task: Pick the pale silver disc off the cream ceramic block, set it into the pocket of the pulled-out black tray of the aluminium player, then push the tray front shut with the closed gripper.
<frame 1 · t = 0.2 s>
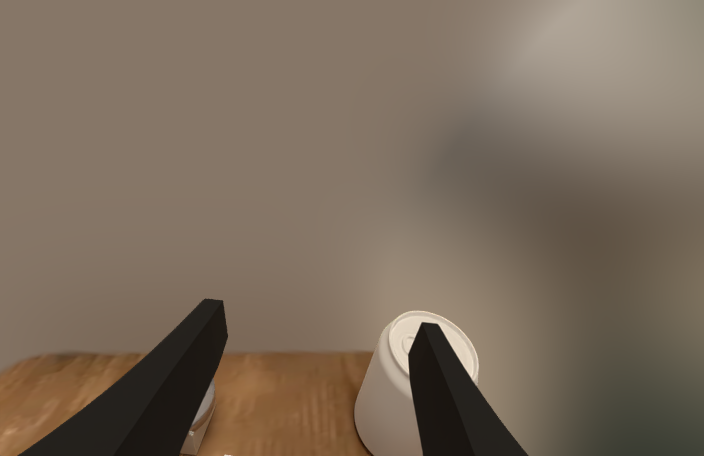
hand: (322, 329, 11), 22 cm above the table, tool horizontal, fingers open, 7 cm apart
riser block: (183, 425, 26), on the table
beverage can: (392, 421, 30), on the table
disc: (178, 405, 24), point 3 cm above the table, touching riser block
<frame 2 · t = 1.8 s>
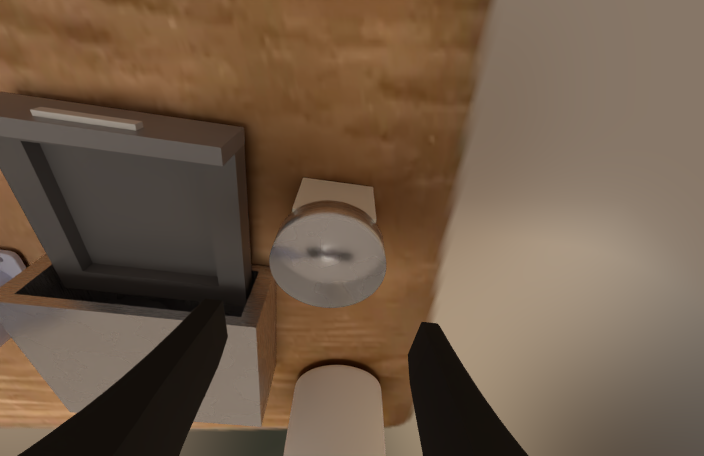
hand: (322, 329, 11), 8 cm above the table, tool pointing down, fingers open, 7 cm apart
player: (185, 314, 23), on the table
riser block: (334, 212, 18), on the table
beverage can: (338, 381, 29), on the table
tray: (134, 222, 16), point 2 cm above the table, slide at 9.0 cm
disc: (330, 247, 15), point 3 cm above the table, touching riser block
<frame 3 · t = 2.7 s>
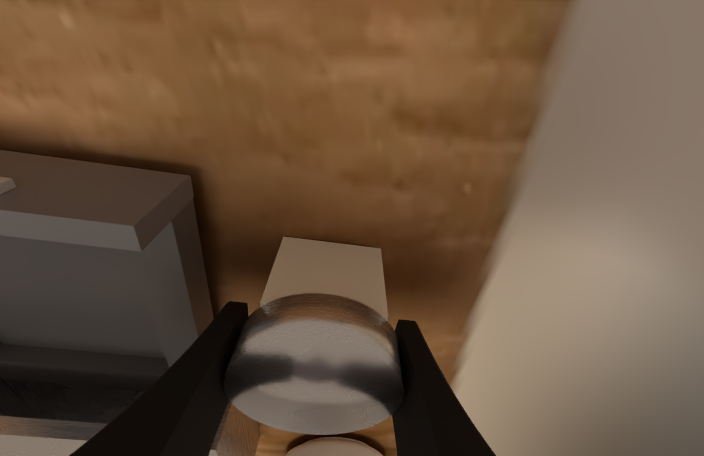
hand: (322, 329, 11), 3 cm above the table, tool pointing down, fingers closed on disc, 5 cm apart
player: (143, 387, 19), on the table
riser block: (327, 278, 13), on the table
beverage can: (335, 450, 24), on the table
tray: (40, 305, 11), point 2 cm above the table, slide at 9.0 cm
disc: (319, 348, 10), point 3 cm above the table, touching gripper, riser block
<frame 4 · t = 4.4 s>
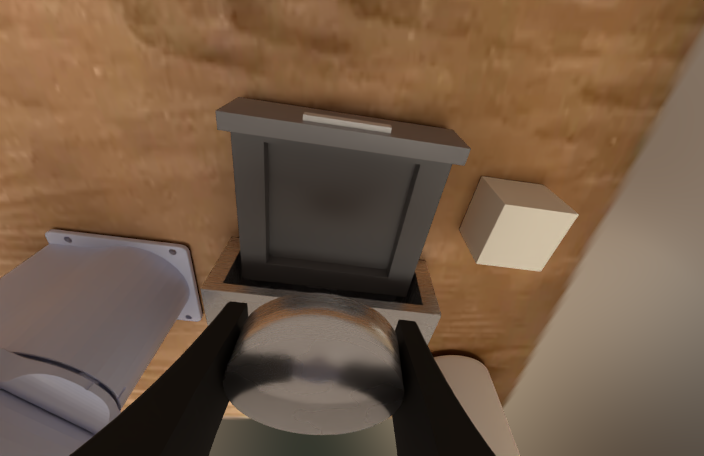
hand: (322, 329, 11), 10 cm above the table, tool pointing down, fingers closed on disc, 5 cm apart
player: (323, 305, 25), on the table
riser block: (499, 208, 19), on the table
beverage can: (444, 371, 30), on the table
tray: (335, 217, 17), point 2 cm above the table, slide at 9.0 cm
disc: (319, 348, 10), point 11 cm above the table, touching gripper
when the fingers open (3 cm above the table, at t = 6.0 s): disc drops 2 cm, resting on tray.
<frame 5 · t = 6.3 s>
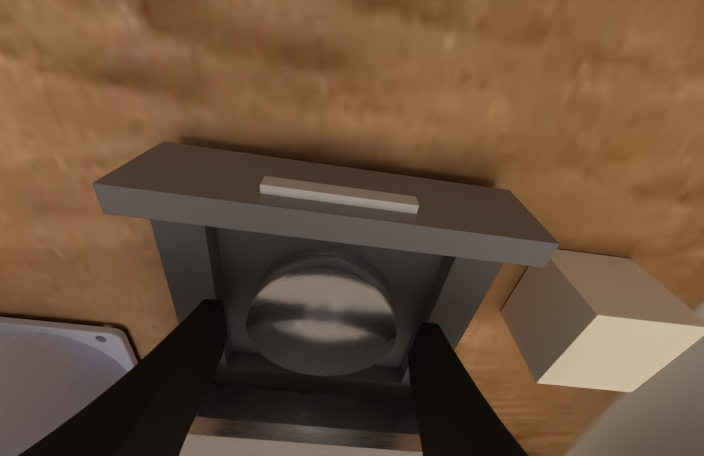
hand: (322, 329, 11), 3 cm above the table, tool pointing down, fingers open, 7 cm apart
player: (312, 392, 19), on the table
riser block: (560, 287, 14), on the table
tray: (323, 315, 11), point 2 cm above the table, slide at 9.0 cm, touching disc
disc: (325, 301, 12), point 1 cm above the table, touching tray
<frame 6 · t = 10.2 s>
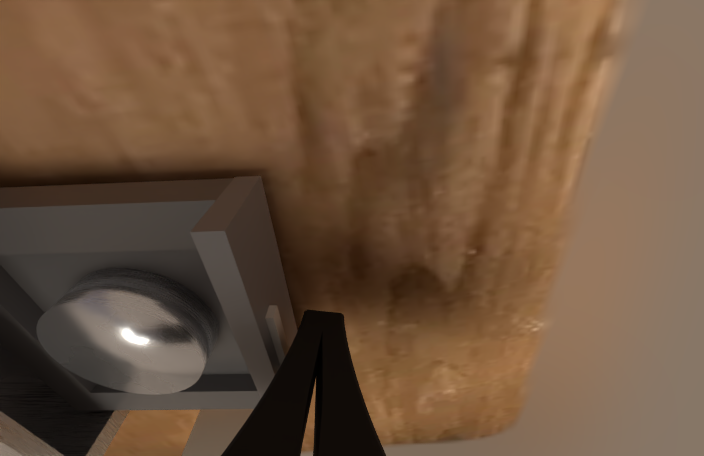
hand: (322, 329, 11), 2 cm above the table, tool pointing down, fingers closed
riser block: (248, 409, 19), on the table
tray: (139, 336, 11), point 2 cm above the table, slide at 9.0 cm, touching disc, gripper
disc: (149, 318, 12), point 1 cm above the table, touching tray
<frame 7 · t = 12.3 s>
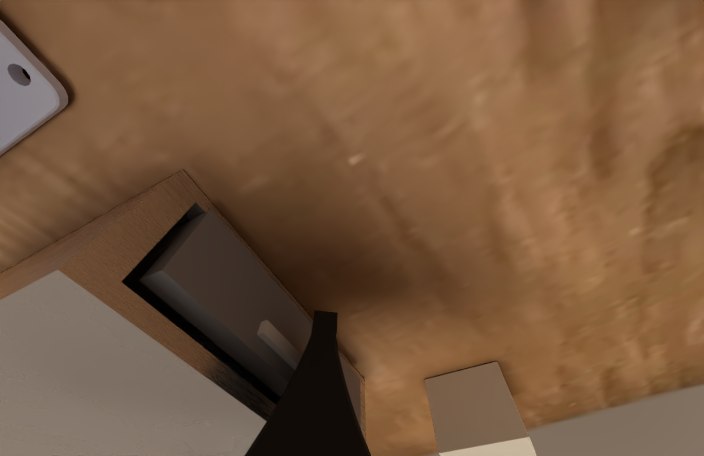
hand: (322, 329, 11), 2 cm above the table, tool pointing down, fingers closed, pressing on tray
player: (195, 338, 15), on the table
riser block: (469, 388, 17), on the table
tray: (187, 378, 13), point 2 cm above the table, slide at -0.2 cm, touching disc, gripper
disc: (196, 360, 13), point 1 cm above the table, touching tray
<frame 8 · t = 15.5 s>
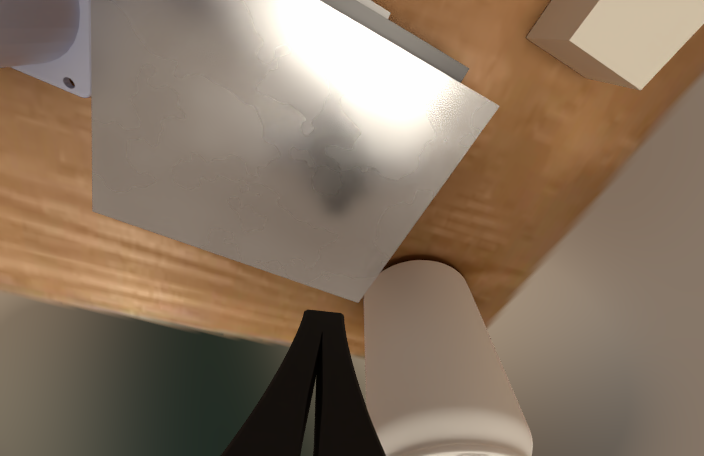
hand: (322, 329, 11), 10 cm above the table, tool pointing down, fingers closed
player: (293, 130, 17), on the table
riser block: (591, 13, 14), on the table
beverage can: (413, 291, 24), on the table
tray: (293, 123, 14), point 2 cm above the table, slide at 0.0 cm, touching disc
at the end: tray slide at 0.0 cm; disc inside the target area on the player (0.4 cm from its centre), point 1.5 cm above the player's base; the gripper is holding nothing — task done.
